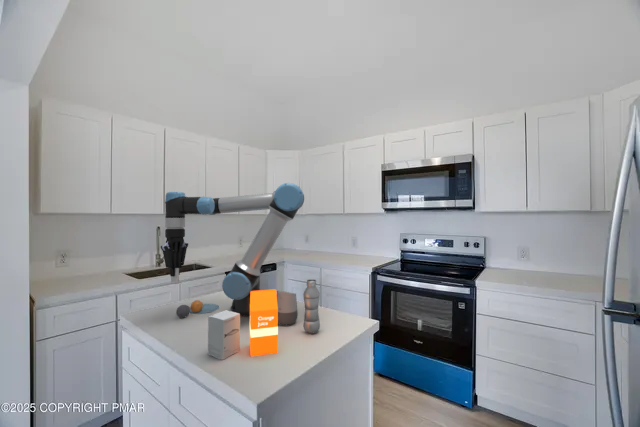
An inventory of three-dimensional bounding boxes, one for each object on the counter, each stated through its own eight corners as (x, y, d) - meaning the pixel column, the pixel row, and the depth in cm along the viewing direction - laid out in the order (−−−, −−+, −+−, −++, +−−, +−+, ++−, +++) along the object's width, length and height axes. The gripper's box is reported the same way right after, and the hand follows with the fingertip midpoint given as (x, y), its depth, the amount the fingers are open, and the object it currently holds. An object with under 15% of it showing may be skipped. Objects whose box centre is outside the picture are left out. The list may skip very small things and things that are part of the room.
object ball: (201, 315, 131) (206, 303, 135) (196, 310, 127) (202, 299, 130) (190, 313, 132) (196, 302, 136) (186, 308, 128) (191, 297, 131)
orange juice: (278, 352, 92) (278, 292, 92) (250, 356, 89) (250, 294, 90) (274, 342, 99) (274, 286, 100) (249, 345, 97) (249, 288, 97)
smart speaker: (301, 321, 120) (301, 288, 120) (289, 328, 112) (289, 293, 112) (284, 317, 124) (284, 285, 125) (270, 324, 116) (270, 290, 116)
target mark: (224, 304, 142) (224, 304, 142) (210, 314, 128) (210, 313, 128) (198, 303, 144) (198, 303, 144) (181, 313, 130) (181, 312, 130)
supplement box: (222, 360, 87) (222, 320, 87) (207, 354, 91) (207, 315, 91) (240, 351, 93) (240, 313, 93) (225, 345, 97) (225, 309, 97)
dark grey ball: (181, 313, 120) (187, 320, 123) (188, 302, 124) (194, 309, 127) (171, 312, 122) (177, 320, 125) (178, 301, 126) (184, 309, 129)
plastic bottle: (322, 329, 111) (322, 279, 111) (316, 336, 104) (316, 282, 105) (307, 327, 113) (307, 278, 113) (300, 334, 106) (300, 281, 107)
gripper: (179, 227, 127) (179, 279, 127) (155, 228, 114) (155, 286, 114) (193, 227, 125) (193, 280, 124) (169, 228, 112) (169, 287, 112)
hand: (174, 283), depth 119 cm, fingers closed
